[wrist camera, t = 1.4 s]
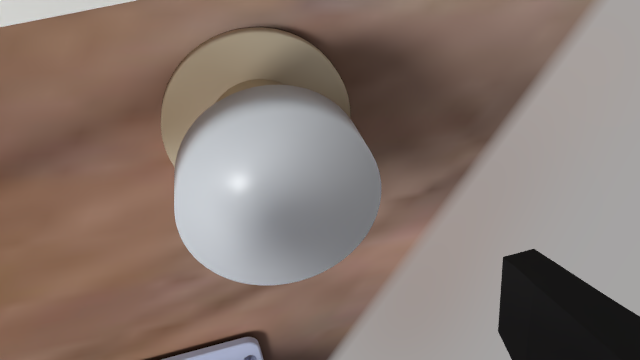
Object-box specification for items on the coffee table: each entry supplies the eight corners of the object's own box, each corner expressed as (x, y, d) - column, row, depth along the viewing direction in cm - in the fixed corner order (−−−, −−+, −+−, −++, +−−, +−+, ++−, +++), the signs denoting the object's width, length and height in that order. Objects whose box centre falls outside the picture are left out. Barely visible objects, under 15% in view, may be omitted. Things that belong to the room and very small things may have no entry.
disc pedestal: (354, 173, 20) (384, 231, 17) (190, 213, 19) (192, 279, 16) (334, 8, 17) (367, 46, 14) (134, 50, 16) (126, 98, 13)
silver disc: (371, 224, 17) (388, 258, 16) (202, 267, 16) (204, 305, 15) (354, 64, 14) (372, 89, 13) (148, 109, 13) (145, 140, 12)
